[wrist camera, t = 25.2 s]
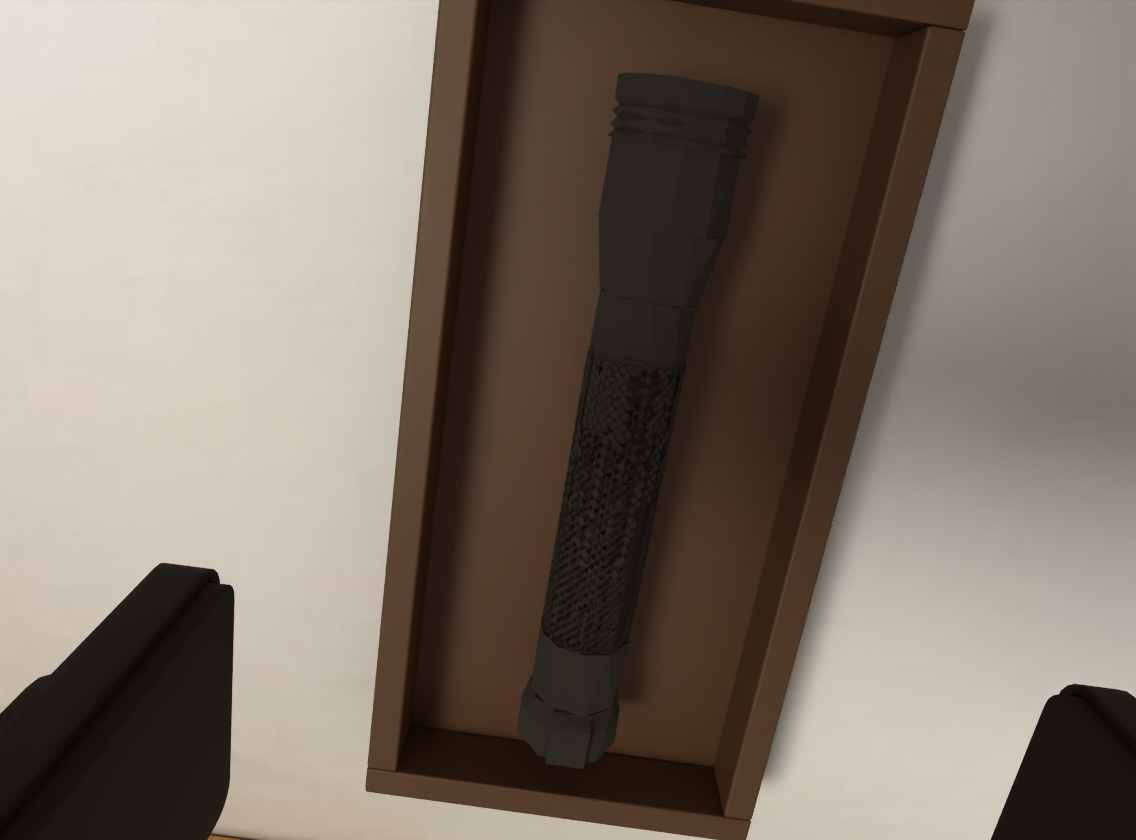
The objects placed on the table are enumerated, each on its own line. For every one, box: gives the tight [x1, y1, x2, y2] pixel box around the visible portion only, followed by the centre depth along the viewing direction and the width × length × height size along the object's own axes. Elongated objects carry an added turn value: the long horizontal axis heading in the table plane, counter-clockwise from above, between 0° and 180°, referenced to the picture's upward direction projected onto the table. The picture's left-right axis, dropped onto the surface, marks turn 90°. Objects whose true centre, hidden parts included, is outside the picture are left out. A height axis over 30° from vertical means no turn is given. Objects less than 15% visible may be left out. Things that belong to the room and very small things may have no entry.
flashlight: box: [517, 72, 760, 769], centre depth 20 cm, size 3×16×3 cm, turn 171°
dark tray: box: [366, 0, 975, 840], centre depth 21 cm, size 22×11×3 cm, turn 171°
